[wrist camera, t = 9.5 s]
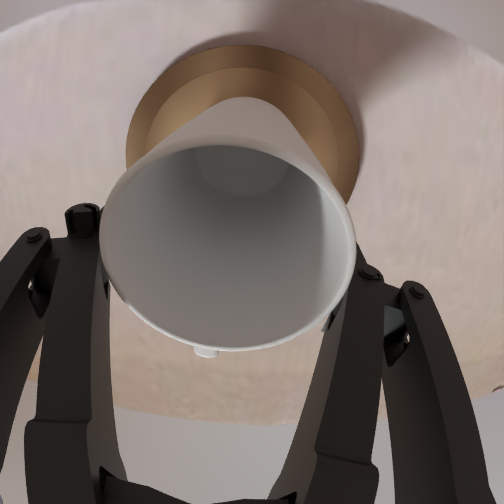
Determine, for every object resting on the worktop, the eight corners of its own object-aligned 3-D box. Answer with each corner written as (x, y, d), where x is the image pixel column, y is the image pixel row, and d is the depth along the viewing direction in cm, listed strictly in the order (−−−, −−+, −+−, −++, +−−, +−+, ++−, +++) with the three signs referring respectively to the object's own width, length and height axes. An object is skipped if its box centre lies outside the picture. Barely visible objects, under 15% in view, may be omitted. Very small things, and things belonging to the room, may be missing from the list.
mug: (199, 82, 15) (97, 114, 5) (312, 107, 16) (400, 180, 6) (177, 227, 21) (120, 375, 11) (270, 246, 21) (277, 403, 12)
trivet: (132, 240, 24) (128, 248, 23) (140, 39, 15) (134, 38, 14) (320, 268, 25) (322, 276, 24) (379, 78, 16) (385, 79, 15)
